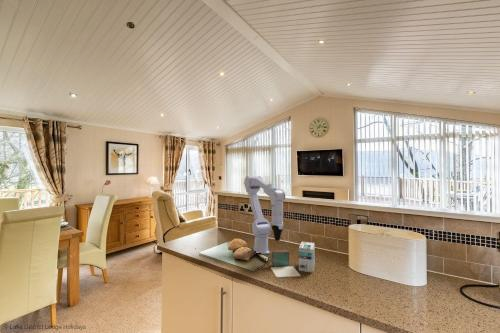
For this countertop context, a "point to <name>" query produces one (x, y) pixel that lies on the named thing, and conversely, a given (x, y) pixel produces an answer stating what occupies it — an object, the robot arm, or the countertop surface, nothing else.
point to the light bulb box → (306, 256)
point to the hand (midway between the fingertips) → (277, 240)
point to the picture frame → (280, 258)
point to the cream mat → (285, 271)
